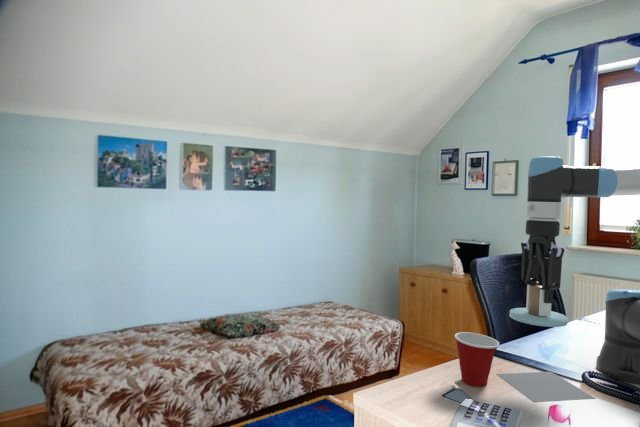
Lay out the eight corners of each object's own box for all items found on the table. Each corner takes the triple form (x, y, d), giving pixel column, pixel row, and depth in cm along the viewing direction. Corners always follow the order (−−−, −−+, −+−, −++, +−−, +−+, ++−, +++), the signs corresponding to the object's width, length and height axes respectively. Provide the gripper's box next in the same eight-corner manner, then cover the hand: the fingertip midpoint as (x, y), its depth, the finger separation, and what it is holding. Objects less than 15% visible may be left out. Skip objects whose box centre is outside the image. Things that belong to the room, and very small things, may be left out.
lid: (544, 311, 118) (545, 281, 117) (580, 326, 105) (581, 292, 105) (499, 312, 116) (500, 281, 115) (530, 327, 103) (531, 292, 103)
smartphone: (455, 387, 110) (516, 407, 99) (455, 390, 110) (516, 411, 99) (439, 395, 105) (501, 418, 94) (439, 399, 105) (501, 422, 94)
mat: (550, 373, 120) (550, 371, 120) (595, 400, 104) (595, 398, 104) (496, 376, 118) (496, 374, 118) (533, 404, 102) (533, 401, 102)
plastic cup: (502, 395, 106) (503, 346, 106) (455, 391, 108) (456, 342, 108) (493, 377, 117) (495, 332, 116) (451, 373, 119) (452, 329, 118)
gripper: (508, 217, 117) (504, 304, 118) (552, 221, 100) (547, 323, 101) (534, 218, 118) (530, 304, 119) (582, 222, 101) (576, 322, 102)
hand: (538, 312), depth 110 cm, fingers closed on lid, 4 cm apart
